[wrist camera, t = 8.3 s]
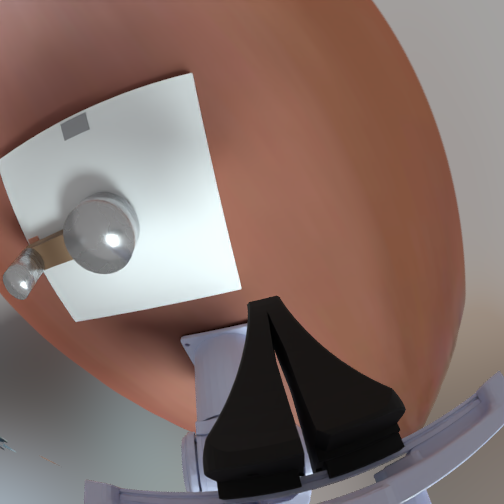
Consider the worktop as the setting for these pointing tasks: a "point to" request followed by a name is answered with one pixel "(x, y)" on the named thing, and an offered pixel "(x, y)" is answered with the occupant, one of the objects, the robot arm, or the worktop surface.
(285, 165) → the worktop surface
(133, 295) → the base
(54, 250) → the silver piece
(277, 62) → the worktop surface
